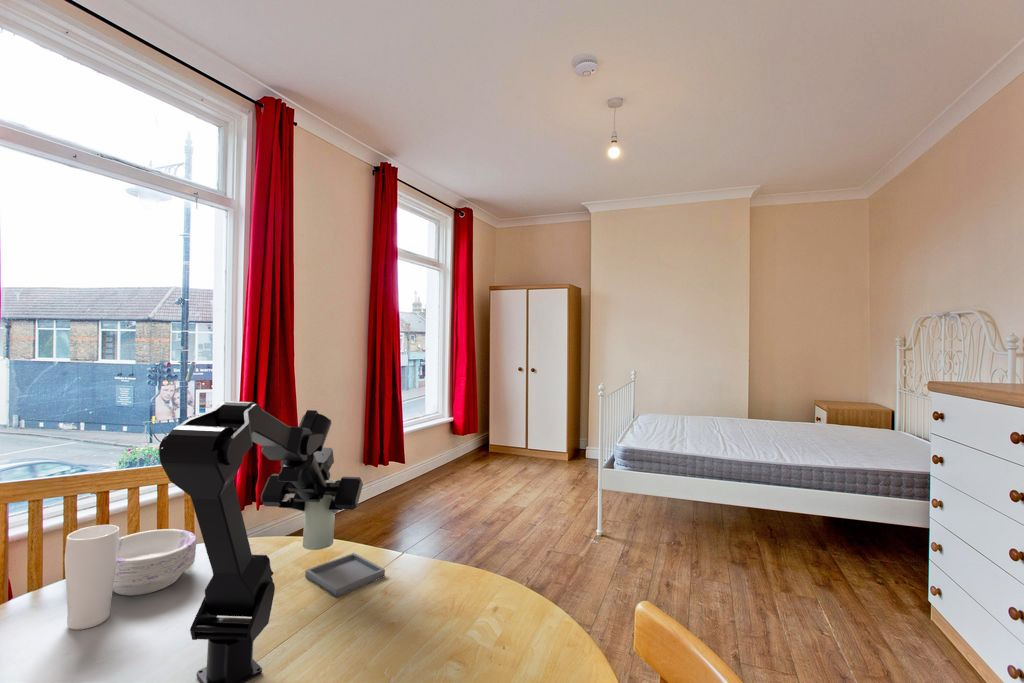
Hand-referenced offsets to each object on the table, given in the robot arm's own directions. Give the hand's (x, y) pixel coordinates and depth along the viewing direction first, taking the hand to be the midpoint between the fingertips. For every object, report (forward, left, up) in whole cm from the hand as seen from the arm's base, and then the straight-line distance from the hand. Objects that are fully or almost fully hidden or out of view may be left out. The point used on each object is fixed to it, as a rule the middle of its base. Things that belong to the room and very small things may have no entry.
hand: (322, 510), depth 101 cm
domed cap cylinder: (-1, +1, -7) cm, 7 cm away
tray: (-8, -1, -12) cm, 14 cm away
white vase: (+9, +36, -12) cm, 39 cm away
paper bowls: (+17, +26, -12) cm, 33 cm away
